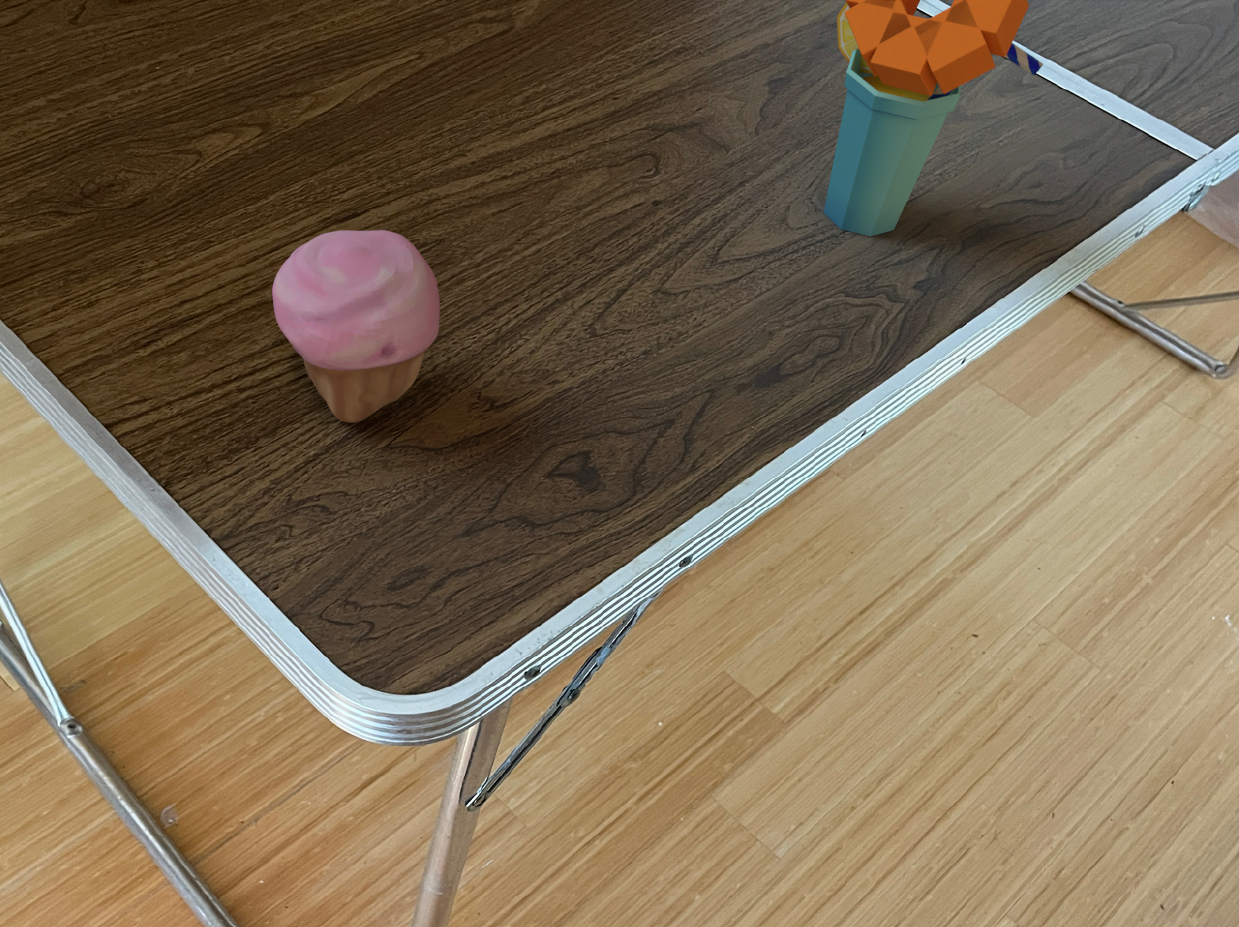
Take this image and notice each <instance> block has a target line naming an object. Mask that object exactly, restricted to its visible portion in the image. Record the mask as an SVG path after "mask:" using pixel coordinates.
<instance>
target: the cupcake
mask: <svg viewBox="0 0 1239 927" xmlns="http://www.w3.org/2000/svg"><path fill="white" fill-rule="evenodd" d="M271 291H272V302H273V311H274V316H275V320H276V323H277V326H278V327H279V329H280V331H281V332H282V334H283V335H284V336H285V338H286V339H287V340H288V341H289V343H290V344H291V346H292V347H293V349H294V350H295V351H296V353H297V354H298V355H299V356H300V357H302V360H303V364H304V367H305V370H306V373H307V376H308V378H309V379H310V380H311V382H312V383H313V385H314V387H315V389H316V390H317V393H318V395H319V396H320V397H321V398H322V399H323V400H324V401H325V402H326V405H327V406H328V408H329V410H330V412H331V413H332V415H333V416H334V417H335V418H336V419H337V420H339V421H341V422H343V423H350V424H352V423H353V424H354V423H355V424H356V423H359V422H361V421H364V420H366V419H367V418H368V417H371V415H373V414H374V413H376V412H377V411H379V410H380V409H382V408H384V407H385V406H387V405H388V404H391V403H393V402H396V401H398V400H399V399H400V398H401V397H402V396H403V395H404V394H405V393H406V392H407V391H408V390H409V389H410V388H411V387H412V386H413V385H414V383H415V382H416V379H417V377H418V375H419V373H420V370H421V367H422V363H423V360H424V357H425V352H426V350H427V349H428V348H429V347H431V345H432V344H433V343H434V342H435V340H436V339H437V337H438V335H439V332H440V319H441V318H440V315H441V314H440V313H441V312H440V311H441V306H440V305H441V304H440V302H441V301H440V292H439V288H438V282H437V277H436V276H435V274H434V273H433V269H432V268H431V267H430V265H429V264H428V262H427V261H426V260H425V258H424V257H423V255H422V254H421V253H420V251H419V250H418V249H417V247H416V246H415V245H414V243H412V241H410V240H409V239H407V237H405V236H403V235H401V234H400V233H397V232H393V231H391V230H390V231H389V230H387V229H386V230H384V229H379V230H378V229H377V230H349V229H348V230H346V229H344V230H343V229H342V230H335V231H329V232H325V233H322V234H320V235H318V236H315V237H313V238H312V239H310V240H309V241H307V242H305V243H304V244H303V243H302V244H301V245H300V246H298V247H297V248H296V249H295V250H294V251H292V253H291V254H290V256H289V257H288V258H287V259H286V261H284V263H282V265H281V266H280V268H279V270H278V272H277V273H276V275H275V277H274V280H273V284H272V290H271Z"/></svg>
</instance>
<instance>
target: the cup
mask: <svg viewBox="0 0 1239 927" xmlns="http://www.w3.org/2000/svg"><path fill="white" fill-rule="evenodd" d="M848 9H850V8H849V6H848V4H847V2H846V1H845V2H844V4H843V6H842V8H841V9H840V11H839V12H838V14H837V15H836V28H837V48H838V50H839V52H840V53H841V54H842V56H843V57H844V59H845V60H846V62H847V63H848V64H847V65H848V66H847V68H846V72H845V78H844V79H845V80H844V85H843V86H844V88H845V89H847V90H846V96H845V100H844V106H843V111H842V116H841V120H840V127H839V131H838V136H837V141H836V146H835V152H834V157H833V162H832V167H831V172H830V177H829V182H828V188H827V193H826V198H825V203H824V208H823V214H824V215H825V216H826V217H827V218H828V219H829V220H830V221H831V222H833V224H834V225H836V227H837V228H839V229H840V230H842V231H847V232H851V233H855V234H859V235H862V236H866V237H874V236H877V235H881V234H885V233H888V232H891V231H894V230H895V228H896V226H897V225H898V222H899V219H900V217H901V215H902V213H903V211H904V208H905V206H906V205H907V202H908V200H909V198H910V196H911V194H912V191H913V190H914V187H915V185H916V183H917V180H918V179H919V177H920V174H921V172H922V170H923V168H924V166H925V163H926V162H927V160H928V157H929V155H930V152H931V150H932V148H933V146H934V144H935V142H936V140H937V138H938V135H939V133H940V131H941V129H942V126H943V124H944V122H945V120H946V118H947V116H948V114H949V113H952V112H954V110H955V108H956V106H957V104H958V103H959V101H960V99H961V92H962V87H963V84H962V85H961V86H959V87H957V88H955V89H953V90H951V91H949V92H947V93H945V94H943V93H942V91H941V89H940V87H939V85H938V83H937V84H936V87H935V89H934V91H933V93H932V95H931V96H928V95H924V94H920V93H916V92H912V91H909V90H905V89H901V88H897V87H893V86H889V85H885V84H883V83H882V81H881V79H880V78H879V76H874V75H873V73H872V71H871V70H870V68H869V66H868V65H867V63H866V61H865V60H864V58H863V56H862V55H861V52H860V50H859V47H858V45H857V42H856V40H855V37H854V35H853V33H852V30H851V28H850V25H849V23H848V20H847V18H846V15H845V11H847V10H848ZM1005 58H1006V59H1008V60H1009V61H1010V62H1012V63H1014V64H1015V65H1017V66H1018V67H1020V68H1022V69H1023V70H1025V71H1026V72H1028V73H1029V74H1031V75H1032V76H1035V75H1036V74H1037V73H1038V72H1039V71H1040V70H1041V69H1042V67H1043V65H1044V63H1043V62H1041V61H1040V60H1038V59H1037V58H1036V57H1034V56H1033V55H1032V54H1030V53H1028V52H1027V51H1025V50H1024V49H1022V48H1021V47H1019V46H1018V45H1016V44H1015V43H1013V42H1012V44H1011V46H1010V48H1009V50H1008V53H1007V55H1006V57H1005Z"/></svg>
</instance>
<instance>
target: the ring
mask: <svg viewBox="0 0 1239 927" xmlns="http://www.w3.org/2000/svg"><path fill="white" fill-rule="evenodd" d="M844 1H845V3H846V2H847V4H848V6H849V8H850V9H848V10H847V11H845V15H846V18H847V20H848V23H849V25H850V28H851V30H852V33H853V35H854V37H855V40H856V42H857V45H858V47H859V50H860V52H861V55H862V56H863V58H864V60H865V61H866V63H867V65H868V66H869V68H870V70H871V71H872V73H873V75H874V76H879V78H880V79H881V81H882V83H883V84H885V85H889V86H893V87H897V88H901V89H905V90H909V91H912V92H916V93H920V94H924V95H928V96H931V95H932V93H933V91H934V89H935V87H936V84H937V83H938V85H939V87H940V89H941V91H942V93H943V94H945V93H947V92H949V91H951V90H953V89H955V88H957V87H959V86H961V85H962V86H963V85H965V84H966V83H968V82H970V81H972V80H974V79H977V78H978V77H980V76H982V75H984V74H985V73H987V72H989V71H991V70H993V69H995V68H996V64H995V60H994V58H993V56H992V55H994V56H998V57H1003V58H1006V55H1007V53H1008V50H1009V48H1010V46H1011V44H1012V43H1013V41H1014V40H1015V38H1016V36H1017V33H1018V31H1019V29H1020V26H1021V25H1022V22H1023V20H1024V18H1025V16H1026V13H1027V11H1028V9H1029V7H1030V4H1029V1H1028V0H953V1H952V4H951V6H950V7H948V8H946V9H945V10H942V11H941V12H939V13H937V14H936V15H933V16H932V17H930V18H927V17H922V16H918V15H917V16H916V15H915V13H916V11H917V9H918V6H919V5H920V2H921V0H844Z"/></svg>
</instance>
